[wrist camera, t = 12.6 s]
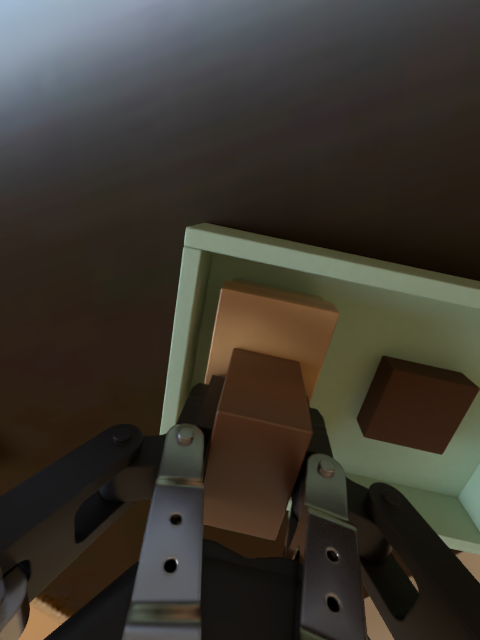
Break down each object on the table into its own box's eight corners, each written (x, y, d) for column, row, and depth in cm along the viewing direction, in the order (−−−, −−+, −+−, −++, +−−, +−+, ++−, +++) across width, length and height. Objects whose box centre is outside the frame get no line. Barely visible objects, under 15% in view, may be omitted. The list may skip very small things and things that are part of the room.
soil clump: (382, 354, 17) (393, 368, 15) (462, 372, 16) (481, 388, 15) (355, 418, 18) (363, 437, 17) (428, 435, 18) (442, 455, 16)
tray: (204, 222, 16) (185, 226, 12) (584, 303, 15) (673, 330, 12) (172, 435, 21) (153, 479, 17) (458, 500, 20) (495, 558, 17)
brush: (229, 272, 15) (195, 328, 8) (327, 293, 15) (377, 368, 8) (201, 429, 19) (159, 560, 12) (280, 446, 19) (286, 590, 12)
